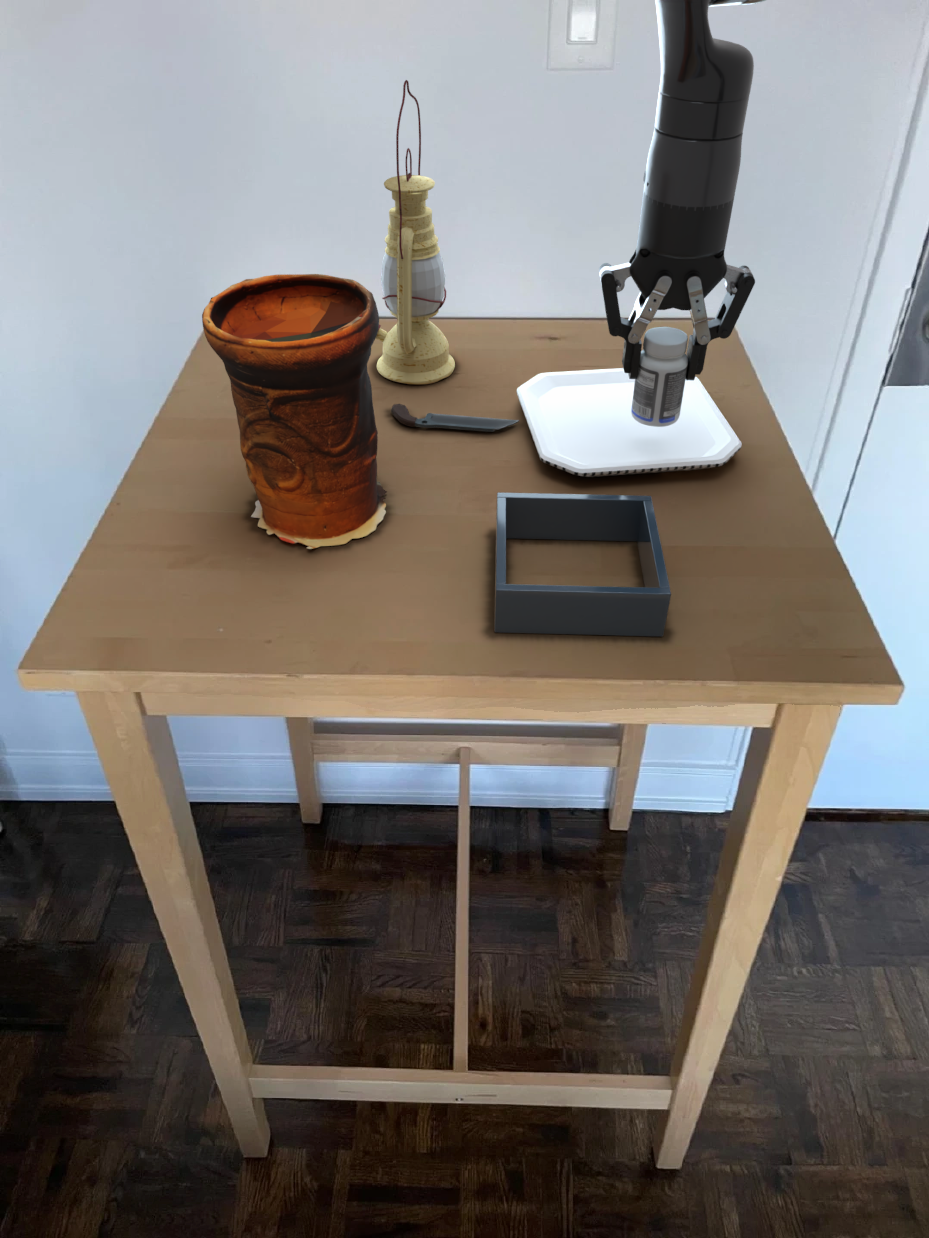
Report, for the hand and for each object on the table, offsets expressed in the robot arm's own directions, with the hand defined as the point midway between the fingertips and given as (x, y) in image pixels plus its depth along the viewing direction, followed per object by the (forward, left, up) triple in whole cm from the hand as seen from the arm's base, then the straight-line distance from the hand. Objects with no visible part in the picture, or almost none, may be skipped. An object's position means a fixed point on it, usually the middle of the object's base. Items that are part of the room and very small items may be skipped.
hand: (660, 375), depth 90 cm
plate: (+4, -4, -9) cm, 11 cm away
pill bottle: (0, 0, -5) cm, 5 cm away
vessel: (+26, +22, -9) cm, 35 cm away
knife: (+21, +2, -9) cm, 23 cm away
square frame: (0, +22, -9) cm, 24 cm away
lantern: (+31, -8, -9) cm, 33 cm away
